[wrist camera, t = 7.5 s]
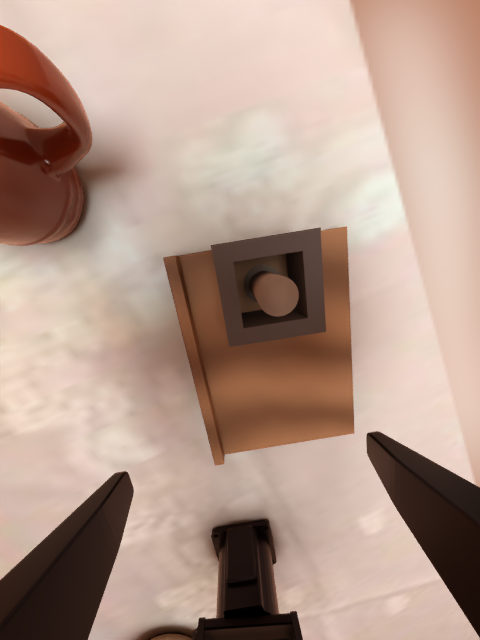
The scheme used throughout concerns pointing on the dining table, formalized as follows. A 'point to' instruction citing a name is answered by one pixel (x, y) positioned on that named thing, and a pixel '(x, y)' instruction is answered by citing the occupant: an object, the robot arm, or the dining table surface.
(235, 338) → the gray square frame
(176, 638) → the planter
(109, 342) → the dining table surface
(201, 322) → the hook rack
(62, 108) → the mug
